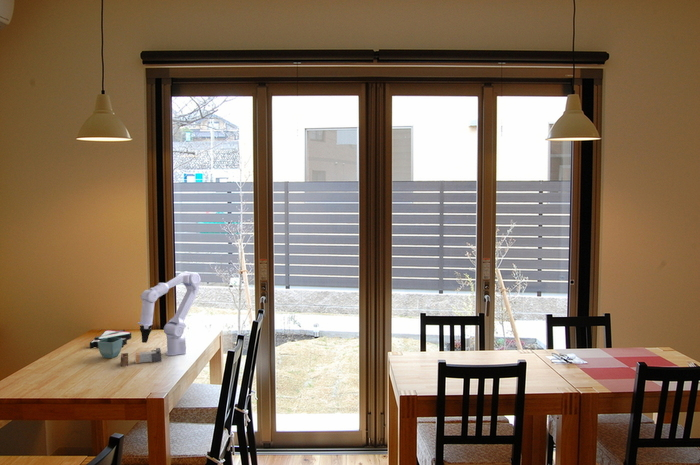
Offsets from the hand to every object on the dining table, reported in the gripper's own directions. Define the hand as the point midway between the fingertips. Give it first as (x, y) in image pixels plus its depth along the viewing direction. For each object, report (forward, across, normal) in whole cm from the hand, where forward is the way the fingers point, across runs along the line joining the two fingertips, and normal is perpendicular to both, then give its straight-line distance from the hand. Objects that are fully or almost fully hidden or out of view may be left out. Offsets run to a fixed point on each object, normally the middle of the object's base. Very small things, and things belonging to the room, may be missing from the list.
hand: (144, 341), depth 266 cm
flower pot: (+11, -15, -15) cm, 24 cm away
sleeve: (+10, 0, +7) cm, 12 cm away
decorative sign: (+10, -46, -16) cm, 50 cm away
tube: (+10, 0, +3) cm, 10 cm away
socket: (+11, 0, -8) cm, 14 cm away
